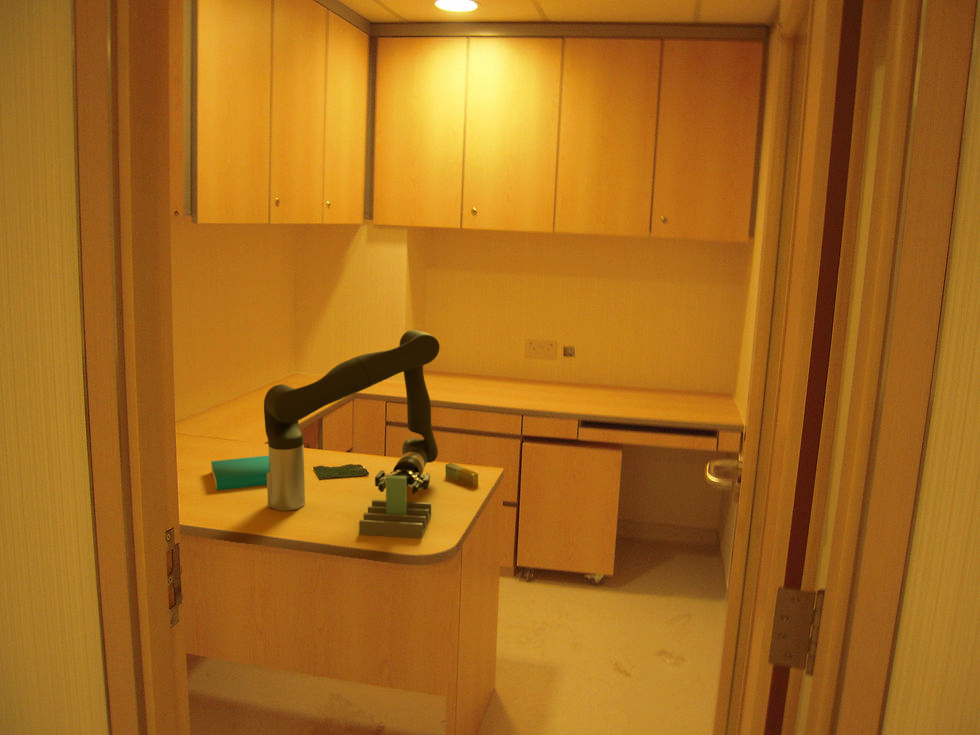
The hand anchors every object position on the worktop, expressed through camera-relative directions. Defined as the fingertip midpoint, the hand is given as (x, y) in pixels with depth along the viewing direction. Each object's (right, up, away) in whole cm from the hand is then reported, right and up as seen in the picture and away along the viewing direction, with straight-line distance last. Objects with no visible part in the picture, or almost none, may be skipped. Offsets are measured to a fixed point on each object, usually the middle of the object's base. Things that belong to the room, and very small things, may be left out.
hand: (397, 489), depth 215 cm
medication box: (+15, -3, +34) cm, 37 cm away
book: (-46, -2, +33) cm, 57 cm away
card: (0, -8, 0) cm, 8 cm away
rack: (0, -9, 0) cm, 9 cm away
